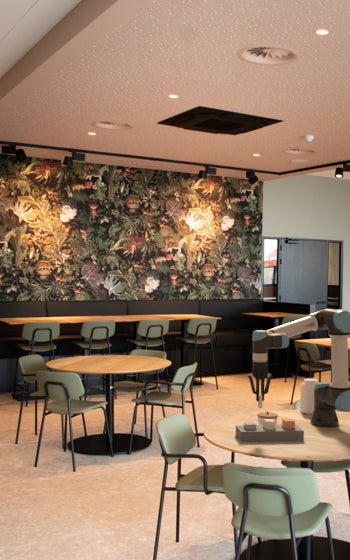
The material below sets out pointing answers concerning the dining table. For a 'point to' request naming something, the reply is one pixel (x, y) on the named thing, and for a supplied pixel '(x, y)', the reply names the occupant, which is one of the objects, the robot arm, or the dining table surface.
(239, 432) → the console
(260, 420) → the lidded jar
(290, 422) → the key terracotta
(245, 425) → the grey cube
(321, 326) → the robot arm
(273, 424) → the key ivory
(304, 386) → the can
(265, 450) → the dining table surface
